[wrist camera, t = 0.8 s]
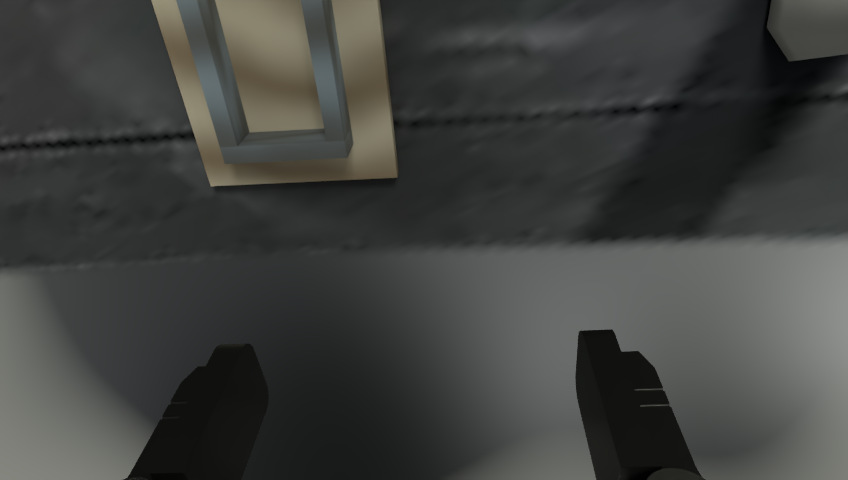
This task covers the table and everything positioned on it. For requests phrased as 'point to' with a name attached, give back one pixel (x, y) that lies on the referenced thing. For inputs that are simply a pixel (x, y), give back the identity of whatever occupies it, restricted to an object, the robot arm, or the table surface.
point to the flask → (809, 27)
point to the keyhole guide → (283, 88)
